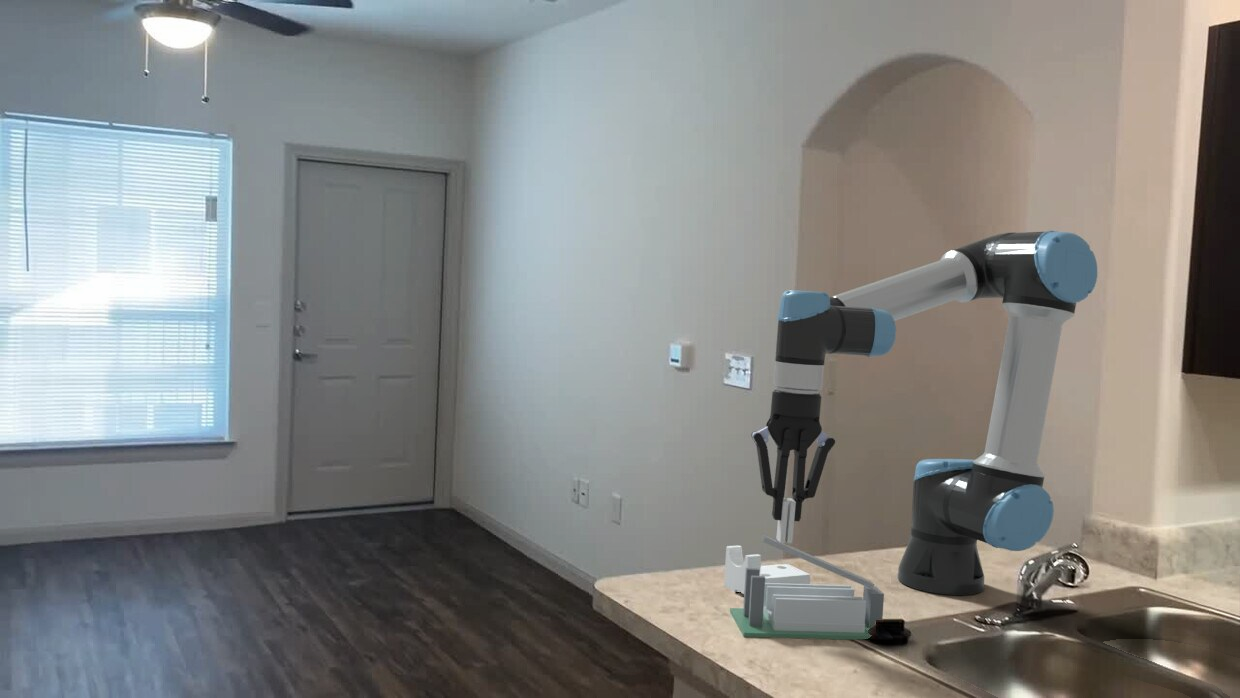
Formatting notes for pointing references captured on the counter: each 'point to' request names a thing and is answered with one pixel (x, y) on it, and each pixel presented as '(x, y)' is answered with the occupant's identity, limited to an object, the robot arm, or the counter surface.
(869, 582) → the strap
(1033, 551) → the counter surface
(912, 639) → the counter surface
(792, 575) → the bracket
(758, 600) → the heatsink board
